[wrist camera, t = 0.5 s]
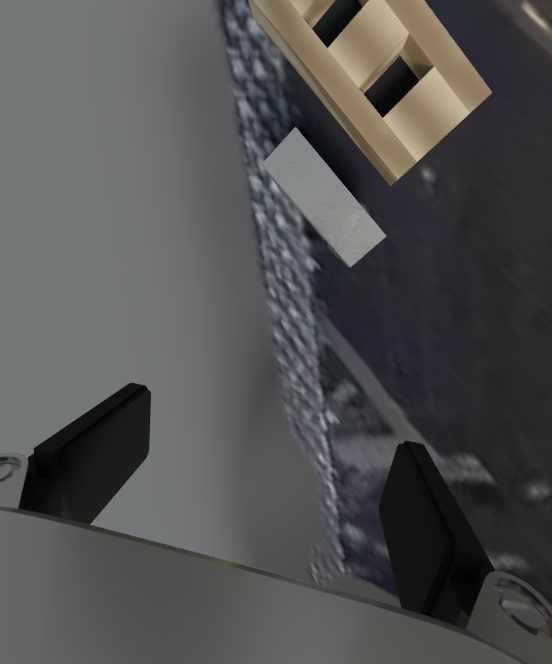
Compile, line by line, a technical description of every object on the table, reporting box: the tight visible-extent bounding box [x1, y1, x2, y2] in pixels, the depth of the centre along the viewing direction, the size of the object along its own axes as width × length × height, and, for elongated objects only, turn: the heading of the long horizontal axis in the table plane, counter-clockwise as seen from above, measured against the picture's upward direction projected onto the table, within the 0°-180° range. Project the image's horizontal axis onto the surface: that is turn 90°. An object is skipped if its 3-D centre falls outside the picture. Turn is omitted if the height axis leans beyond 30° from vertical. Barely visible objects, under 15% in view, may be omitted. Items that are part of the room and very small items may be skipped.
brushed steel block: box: [262, 127, 386, 267], centre depth 29 cm, size 4×12×8 cm, turn 43°
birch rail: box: [248, 0, 492, 186], centre depth 28 cm, size 10×22×3 cm, turn 43°
